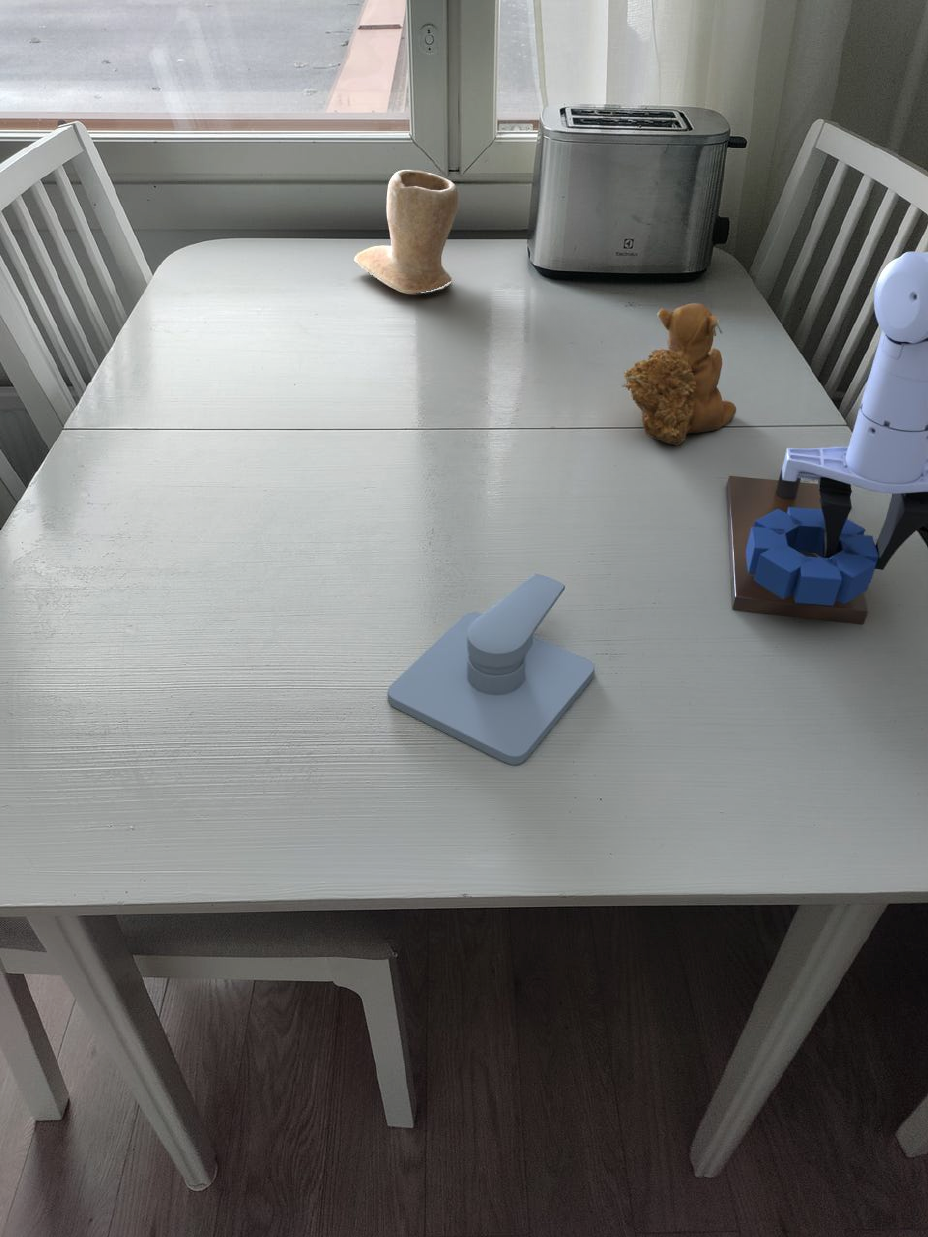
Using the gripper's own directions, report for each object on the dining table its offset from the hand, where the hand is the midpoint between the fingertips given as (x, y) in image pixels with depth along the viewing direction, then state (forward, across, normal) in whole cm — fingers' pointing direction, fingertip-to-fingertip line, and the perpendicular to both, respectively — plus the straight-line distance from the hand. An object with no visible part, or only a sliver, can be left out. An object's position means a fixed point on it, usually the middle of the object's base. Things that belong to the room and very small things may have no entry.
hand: (852, 559), depth 80 cm
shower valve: (+5, +27, +16) cm, 31 cm away
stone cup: (+5, +57, -64) cm, 86 cm away
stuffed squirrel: (+5, +16, -29) cm, 33 cm away
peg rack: (+5, +4, -8) cm, 10 cm away
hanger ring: (+2, +3, 0) cm, 4 cm away
